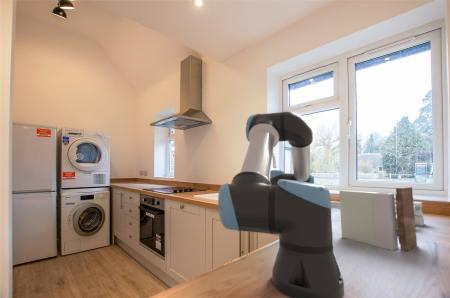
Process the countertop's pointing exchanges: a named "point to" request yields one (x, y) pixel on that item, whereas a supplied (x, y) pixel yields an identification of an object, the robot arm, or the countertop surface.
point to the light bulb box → (418, 213)
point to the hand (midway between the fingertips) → (334, 207)
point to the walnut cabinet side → (405, 218)
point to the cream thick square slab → (369, 218)
